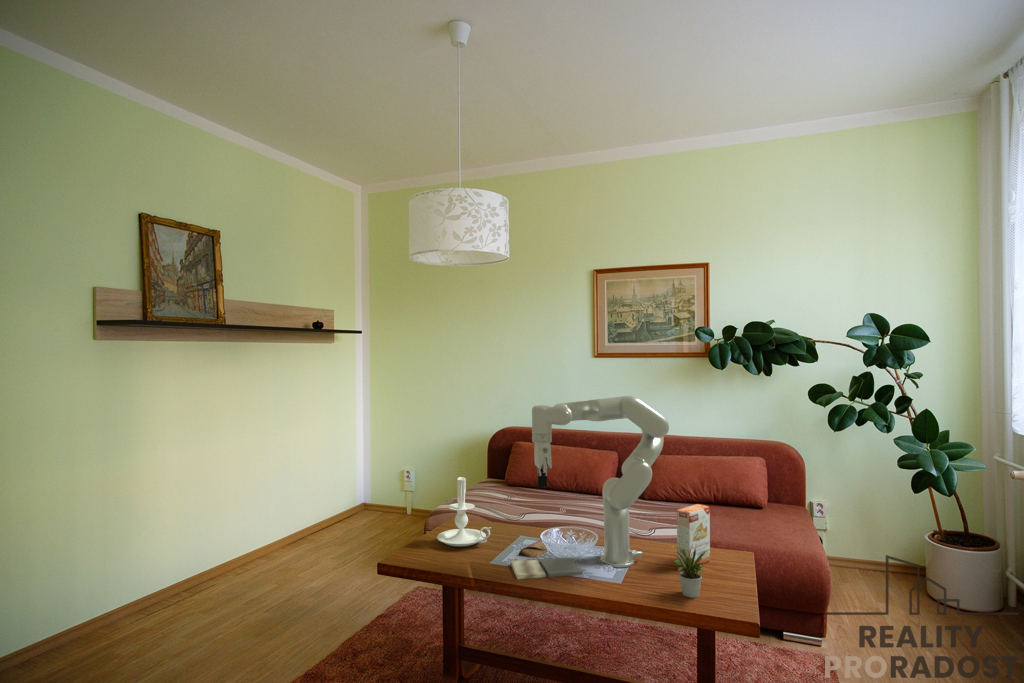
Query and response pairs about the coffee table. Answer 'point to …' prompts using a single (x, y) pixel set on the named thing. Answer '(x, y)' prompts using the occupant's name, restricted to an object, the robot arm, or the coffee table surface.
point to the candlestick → (462, 522)
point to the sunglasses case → (534, 550)
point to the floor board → (560, 567)
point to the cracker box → (694, 532)
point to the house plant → (690, 573)
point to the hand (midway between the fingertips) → (542, 486)
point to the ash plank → (528, 569)
